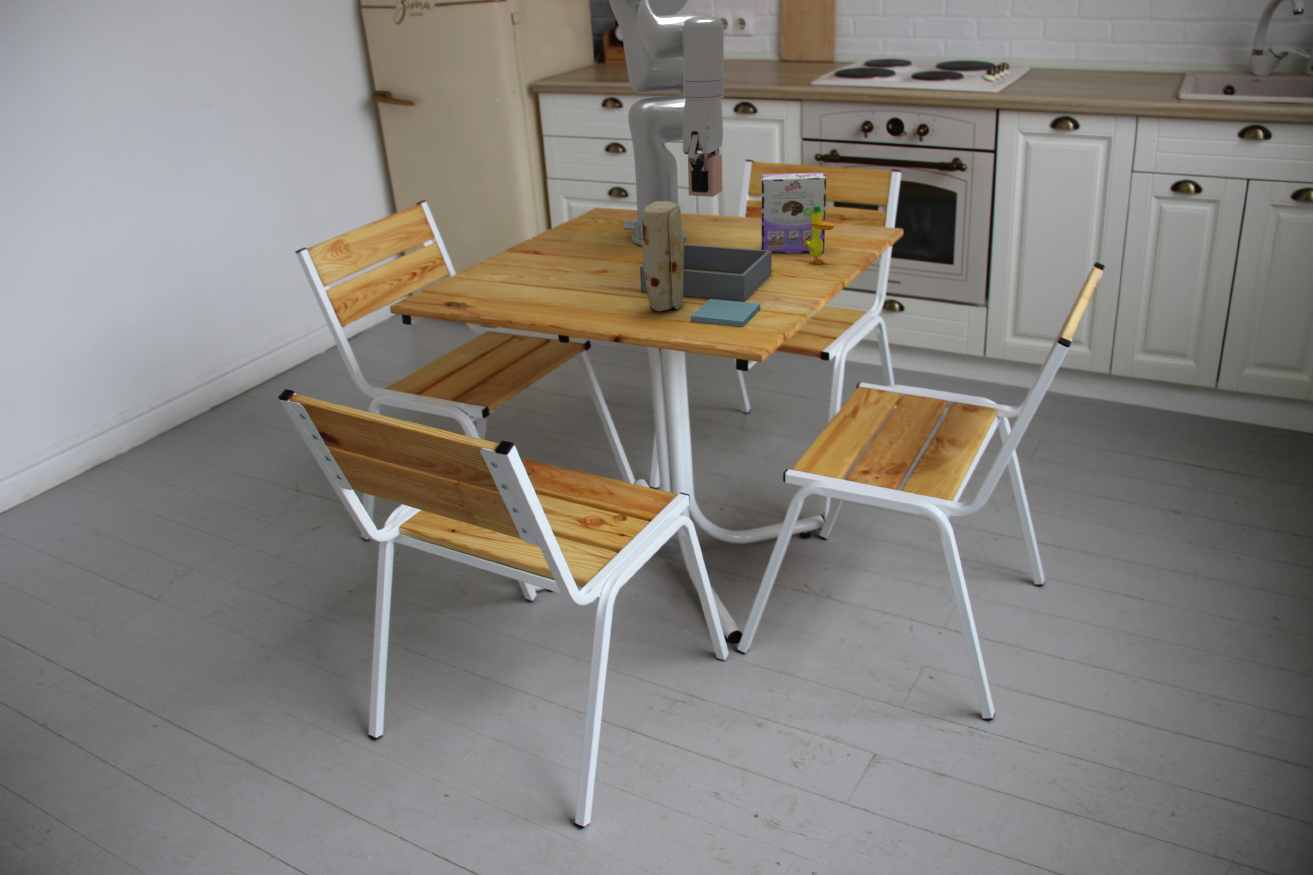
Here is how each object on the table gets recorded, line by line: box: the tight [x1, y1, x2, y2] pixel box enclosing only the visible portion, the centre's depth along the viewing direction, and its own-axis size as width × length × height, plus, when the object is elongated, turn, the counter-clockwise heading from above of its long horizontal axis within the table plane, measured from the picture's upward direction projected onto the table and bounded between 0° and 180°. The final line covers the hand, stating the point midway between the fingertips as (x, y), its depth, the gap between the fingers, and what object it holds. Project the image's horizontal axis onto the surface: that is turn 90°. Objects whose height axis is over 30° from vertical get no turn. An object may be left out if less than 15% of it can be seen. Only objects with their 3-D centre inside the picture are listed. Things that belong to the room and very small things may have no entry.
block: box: [687, 152, 723, 198], centre depth 187 cm, size 5×5×7 cm
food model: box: [642, 201, 685, 312], centre depth 180 cm, size 10×7×20 cm
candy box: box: [760, 172, 827, 254], centre depth 211 cm, size 14×6×16 cm, turn 84°
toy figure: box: [806, 206, 836, 265], centre depth 203 cm, size 7×4×12 cm, turn 49°
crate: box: [639, 243, 773, 302], centre depth 196 cm, size 22×18×5 cm
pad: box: [690, 298, 761, 328], centre depth 179 cm, size 10×10×1 cm
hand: (705, 187), depth 188 cm, fingers closed on block, 4 cm apart
